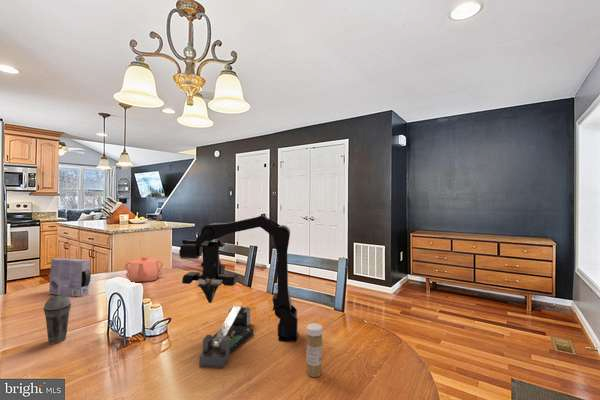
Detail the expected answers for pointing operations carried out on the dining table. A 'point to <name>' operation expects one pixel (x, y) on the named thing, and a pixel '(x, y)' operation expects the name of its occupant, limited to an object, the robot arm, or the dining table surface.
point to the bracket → (222, 343)
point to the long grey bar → (227, 324)
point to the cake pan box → (70, 277)
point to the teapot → (143, 269)
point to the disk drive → (236, 337)
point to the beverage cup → (57, 316)
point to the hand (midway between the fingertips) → (210, 302)
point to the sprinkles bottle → (314, 349)
